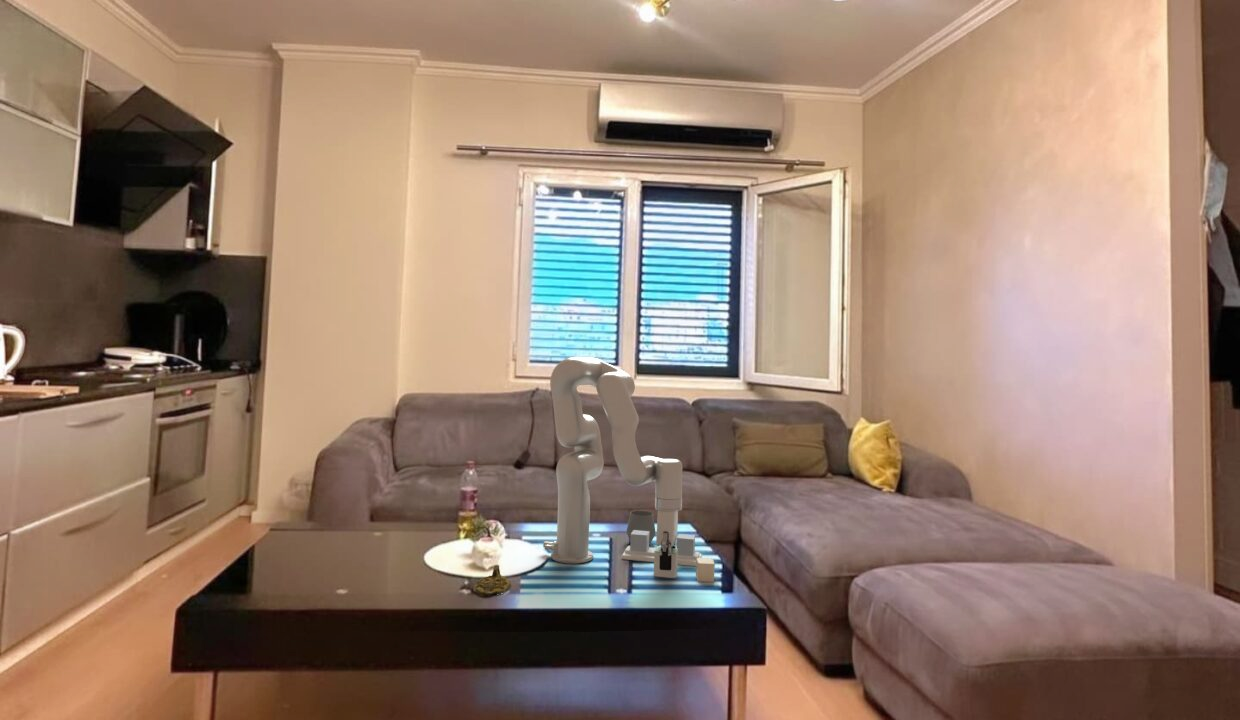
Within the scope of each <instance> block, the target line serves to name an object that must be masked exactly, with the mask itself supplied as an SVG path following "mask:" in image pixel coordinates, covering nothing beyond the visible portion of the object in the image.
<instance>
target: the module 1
mask: <svg viewBox="0 0 1240 720" xmlns="http://www.w3.org/2000/svg"><path fill="white" fill-rule="evenodd" d="M655 548H656V549H655V551H654V562H653V577H659V578H670V579H676V577H677V574H678V564H677V559H678V549H676V548H671V554H670V555H672V559H671V570H670V571H669V570H660V568H659V567H660V549H661V546H656V547H655ZM668 549H669V548H668Z"/></svg>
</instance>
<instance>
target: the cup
mask: <svg viewBox="0 0 1240 720" xmlns="http://www.w3.org/2000/svg"><path fill="white" fill-rule="evenodd" d="M633 530H640V531H650V533H649V545H650V544H651V543H652V542H653V540H654V538H655V536H656V526H655V519H654V512H652V511H648V510H631V511H630V513H629V516H628V521H627V527H626V535H627V537H628V539H629V541H630V537H631V533H632V531H633Z"/></svg>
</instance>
